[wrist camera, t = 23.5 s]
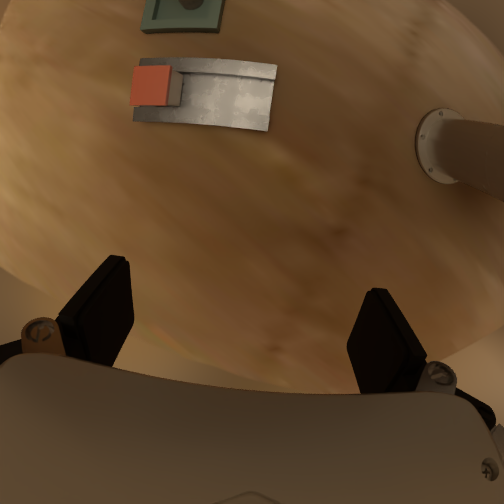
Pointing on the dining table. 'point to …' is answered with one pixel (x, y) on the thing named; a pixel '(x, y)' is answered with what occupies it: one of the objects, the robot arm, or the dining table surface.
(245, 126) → the switch panel
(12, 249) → the dining table surface
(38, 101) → the dining table surface
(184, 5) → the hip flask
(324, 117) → the dining table surface
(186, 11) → the tray
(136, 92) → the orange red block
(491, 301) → the dining table surface
